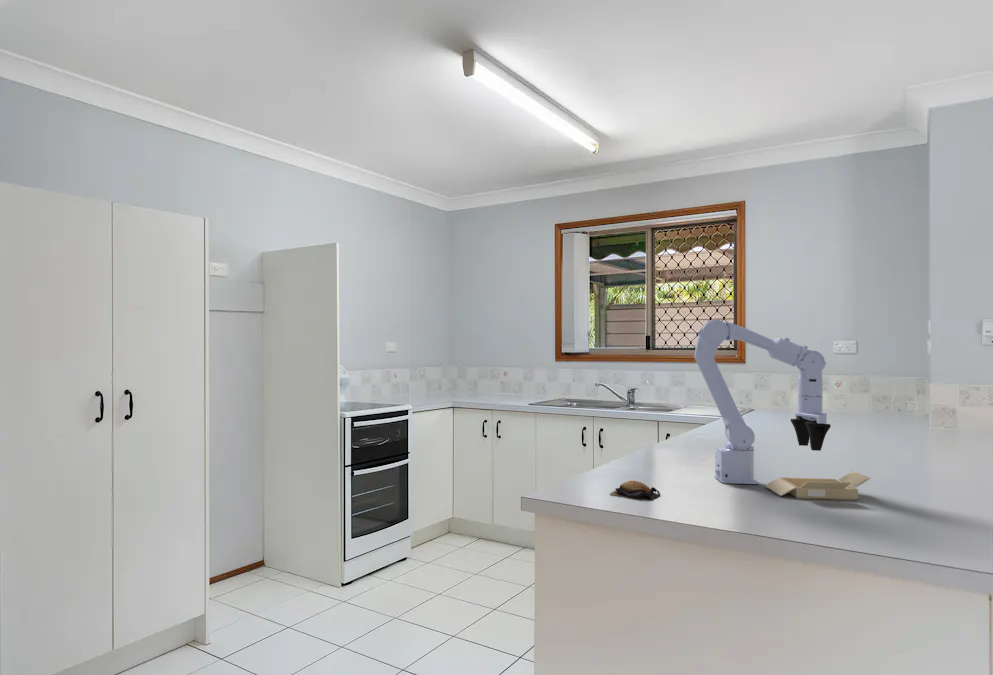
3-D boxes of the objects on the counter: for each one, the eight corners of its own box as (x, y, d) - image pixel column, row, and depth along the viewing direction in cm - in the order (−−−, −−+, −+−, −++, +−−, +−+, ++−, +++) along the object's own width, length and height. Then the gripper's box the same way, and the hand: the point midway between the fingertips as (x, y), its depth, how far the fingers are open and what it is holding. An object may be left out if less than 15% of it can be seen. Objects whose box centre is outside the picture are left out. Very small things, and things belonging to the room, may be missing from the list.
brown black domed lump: (607, 498, 146) (607, 482, 146) (620, 490, 154) (620, 475, 154) (652, 504, 141) (652, 488, 141) (662, 496, 148) (662, 481, 148)
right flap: (869, 477, 146) (870, 478, 146) (852, 470, 154) (853, 471, 154) (855, 486, 147) (856, 487, 147) (839, 479, 155) (839, 480, 155)
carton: (780, 497, 146) (781, 487, 146) (758, 483, 161) (758, 474, 161) (858, 500, 145) (858, 489, 145) (828, 486, 160) (828, 476, 160)
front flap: (800, 486, 146) (801, 487, 146) (807, 480, 143) (807, 481, 142) (843, 487, 145) (843, 489, 145) (850, 482, 142) (851, 483, 142)
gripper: (839, 398, 153) (838, 453, 153) (813, 394, 167) (813, 443, 167) (810, 398, 153) (809, 452, 153) (786, 393, 168) (786, 443, 168)
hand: (809, 447), depth 160 cm, fingers open, 7 cm apart
